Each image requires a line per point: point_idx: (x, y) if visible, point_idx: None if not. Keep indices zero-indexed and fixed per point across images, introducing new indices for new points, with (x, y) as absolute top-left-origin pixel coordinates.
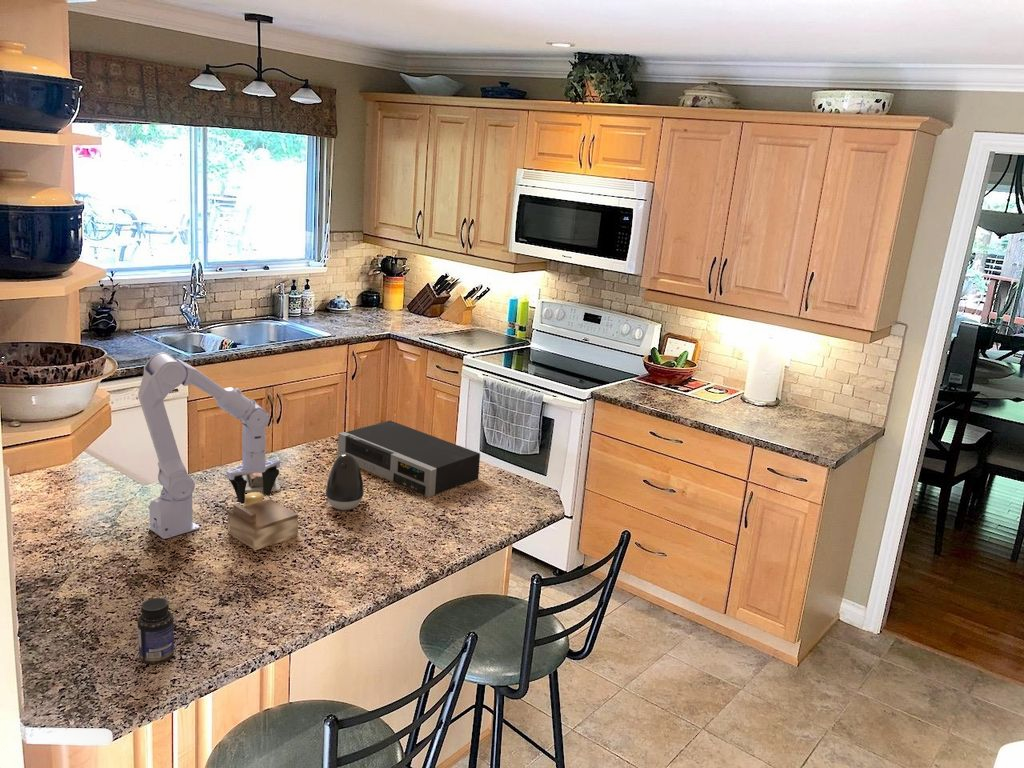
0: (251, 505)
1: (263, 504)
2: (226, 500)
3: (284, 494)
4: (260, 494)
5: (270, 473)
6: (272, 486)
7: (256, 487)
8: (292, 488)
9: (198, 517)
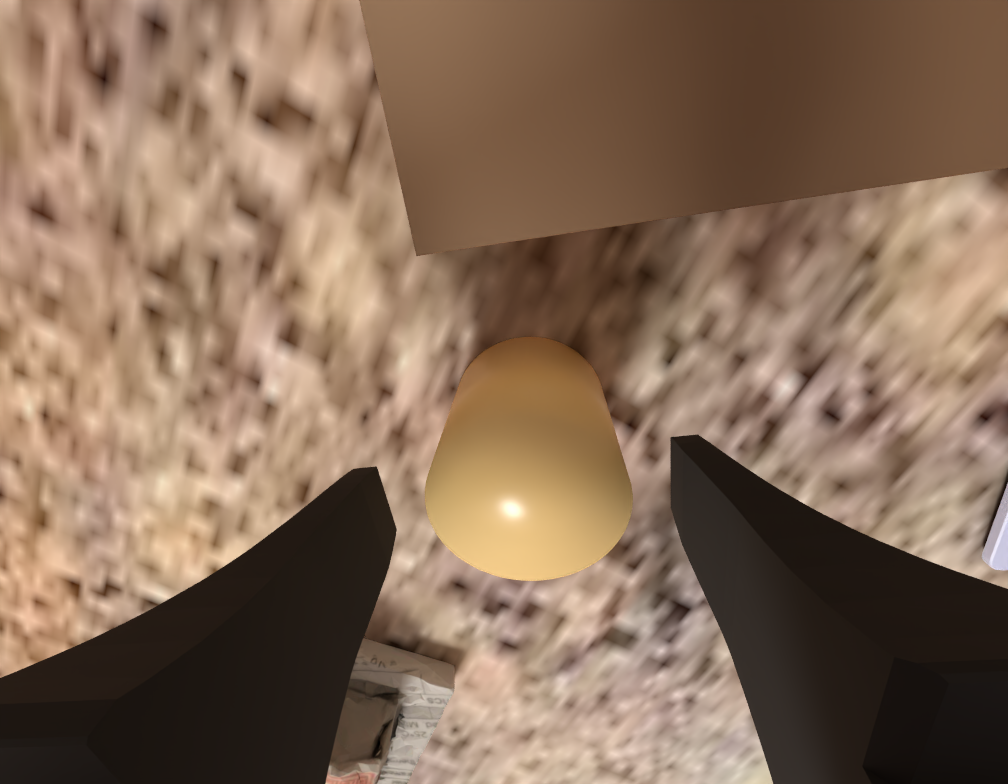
0: (798, 160)
1: (612, 86)
2: (589, 641)
3: (225, 560)
4: (447, 504)
5: (164, 748)
6: (278, 529)
7: (369, 685)
8: (158, 603)
9: (889, 530)
